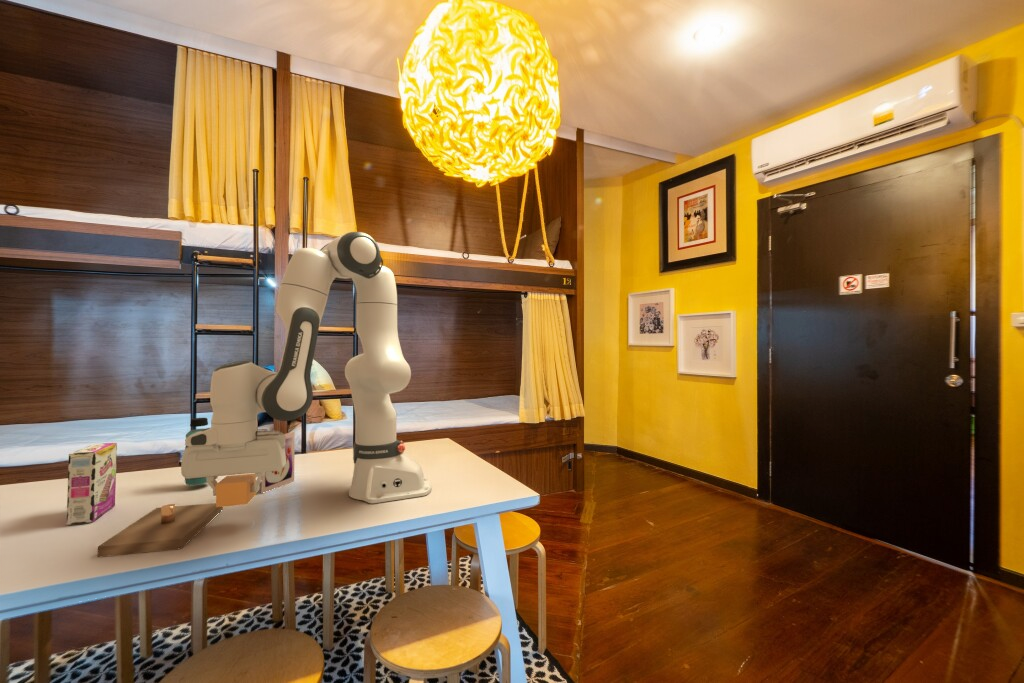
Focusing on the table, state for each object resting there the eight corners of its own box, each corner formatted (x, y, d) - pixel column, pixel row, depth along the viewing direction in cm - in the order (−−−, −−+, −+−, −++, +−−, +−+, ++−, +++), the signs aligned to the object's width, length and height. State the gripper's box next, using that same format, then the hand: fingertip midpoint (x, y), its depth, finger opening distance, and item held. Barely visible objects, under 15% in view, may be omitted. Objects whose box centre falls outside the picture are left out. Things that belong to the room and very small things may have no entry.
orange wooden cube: (256, 494, 99) (255, 473, 99) (246, 504, 93) (246, 481, 93) (227, 497, 98) (226, 475, 98) (216, 507, 92) (215, 484, 92)
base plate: (222, 510, 104) (223, 502, 104) (181, 548, 85) (181, 538, 85) (156, 515, 101) (156, 507, 101) (97, 557, 81) (97, 546, 81)
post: (177, 519, 94) (177, 503, 94) (171, 523, 92) (171, 507, 92) (164, 520, 94) (164, 504, 94) (158, 524, 91) (158, 508, 91)
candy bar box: (94, 523, 97) (95, 452, 97) (65, 526, 95) (66, 454, 95) (117, 505, 107) (118, 441, 107) (91, 508, 105) (92, 443, 105)
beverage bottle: (207, 481, 126) (208, 415, 126) (216, 486, 122) (216, 417, 122) (180, 487, 120) (181, 418, 120) (189, 492, 116) (189, 420, 117)
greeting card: (264, 494, 116) (264, 440, 116) (243, 491, 118) (243, 438, 118) (296, 481, 126) (296, 431, 127) (277, 478, 129) (277, 430, 129)
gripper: (289, 426, 101) (290, 483, 101) (190, 432, 96) (192, 492, 96) (281, 432, 95) (283, 492, 95) (176, 439, 90) (178, 503, 90)
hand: (236, 493), depth 96 cm, fingers closed on orange wooden cube, 6 cm apart
